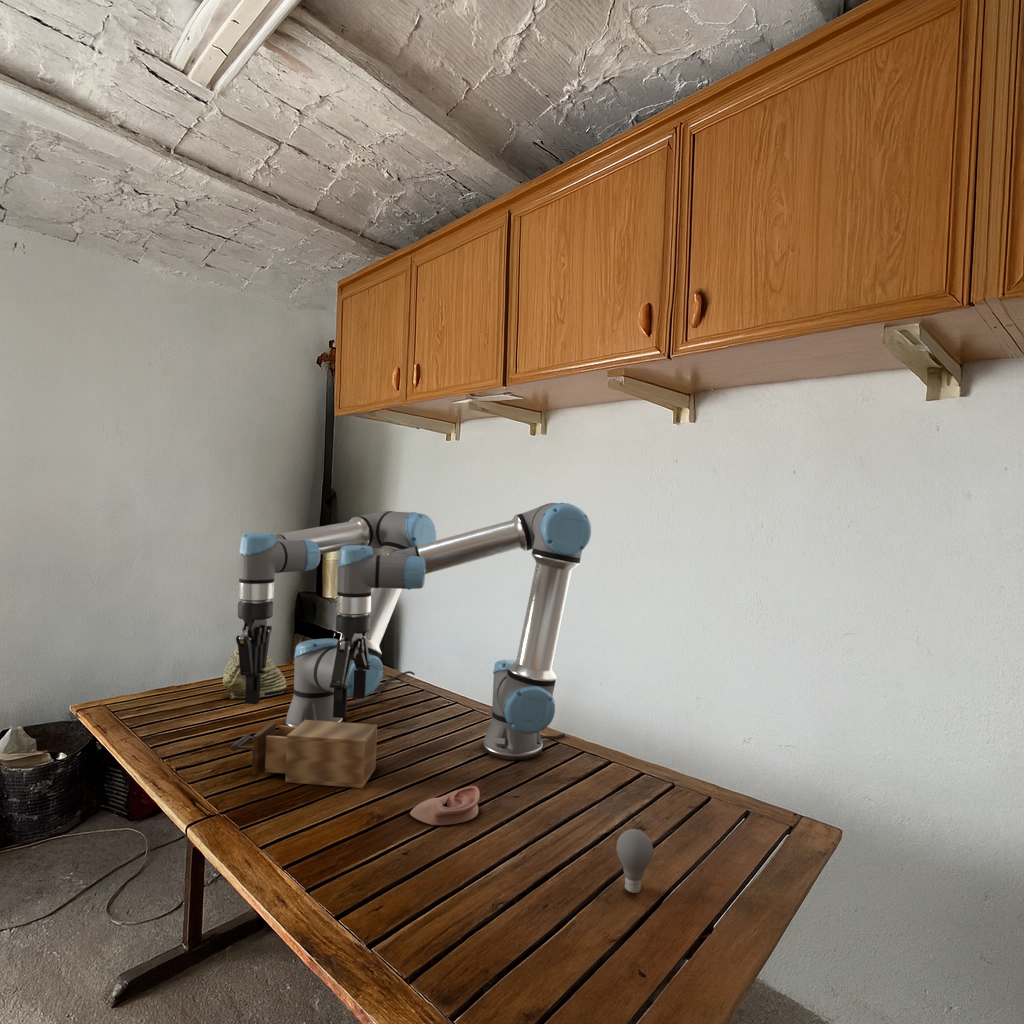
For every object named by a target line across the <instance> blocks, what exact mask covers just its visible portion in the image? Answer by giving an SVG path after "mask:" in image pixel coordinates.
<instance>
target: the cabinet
mask: <svg viewBox="0 0 1024 1024" xmlns="http://www.w3.org/2000/svg"><path fill="white" fill-rule="evenodd" d="M377 741H378V724H371V723H359V722H344V721H343V722H331V721H316V720H304V721H303V722H302V723H301V724H300V725H299V726H297V727H296V728H295V729H294V730H293V731H292V732H291V733H289V734H288V735H287V755H286V774H285V783H290V784H291V783H293V784H303V785H317V786H327V787H329V786H331V787H342V788H344V787H345V788H353V789H354V788H357V789H363V788H364V787H365V785H366V783H368V781H369V779H370V778H371V776H372V775H373V774H374V772H375V771H376V769H377V768H376V767H377V745H378V744H377V743H378V742H377Z"/></svg>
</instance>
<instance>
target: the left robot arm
mask: <svg viewBox="0 0 1024 1024" xmlns="http://www.w3.org/2000/svg"><path fill="white" fill-rule="evenodd" d="M433 541H437V530H436V527H435V522H434V521H433V520H432V518H431V517H430V516H428V515H427V514H425V513H420V512H416V511H412V512H411V511H410V512H408V511H393V510H384V511H377V512H374V513H368V514H363V515H359V516H353V517H351V518H350V520H348V521H344V522H339V523H334V524H327V525H323V526H316V527H310V528H305V529H299V530H294V531H287V532H281V533H277V534H274V533H272V532H271V533H270V532H245V533H244V534H242V536H241V537H240V542H239V551H238V555H239V563H238V564H239V565H238V567H239V568H238V585H237V589H238V600H239V601H238V603H237V618H238V619H240V620H242V621H243V624H242V626H241V631H242V633H241V635H236V636H235V642H236V644H237V648H238V652H239V663H240V674H241V675H242V676H246V688H245V698H244V704H246V705H258V704H259V703H260V699H261V697H260V673H263V674H264V673H265V670H262V668H265V667H266V660H267V655H268V652H269V646H270V638H271V633H272V631H273V626H272V625H268V619H271V618H272V617H273V616H274V602H273V601H272V600H273V599H274V598H275V574H281V573H293V572H296V573H297V572H303V573H304V572H306V571H313V570H315V569H316V568H317V567H318V566H319V564H320V561H321V555H324V554H329V553H334V552H339V551H340V549H341V548H342V547H343V546H347V545H362V546H370V547H372V548H373V549H379V550H380V551H381V554H382V556H388V555H389V554H390V553H392V552H393V551H395V550H399V549H403V550H404V549H407V548H411V547H416V546H418V545H422V544H426V543H429V542H433ZM402 591H403V589H396V588H372V589H371V612H370V613H368V614H369V615H370V630H369V631H368V632H367V645H368V653H369V661H370V663H369V665H370V670H366V690H365V698H366V697H368V696H369V695H371V694H373V693H374V692H375V691H376V690H377V688H378V687H379V685H380V684H381V681H382V679H383V675H384V669H383V668H384V665H383V662H382V660H381V658H382V654H383V653H382V651H381V648H380V645H381V642H382V640H383V638H384V635H385V633H386V630H387V628H388V625H389V622H390V621H391V619H392V618H391V617H392V615H393V612H394V611H395V608H396V605H397V603H398V600H399V598H400V596H401V593H402ZM342 640H343V637H342V638H341V639H340V640H339V639H337V638H331V637H329V638H317V639H316V638H315V639H308V640H304V641H300V642H299V643H298V644H297V645H296V646H295V650H294V651H295V652H294V655H293V658H294V670H293V671H294V672H293V695H292V696H293V697H292V699H291V702H290V704H289V708H288V710H287V712H286V714H285V726H299V725H300V724H301V723H302V722H303V721H304V720H316V721H331V722H344V718H335V717H333V702H334V688H330V683H331V678H332V673H333V667H334V662H335V657H336V651H337V642H338V641H342ZM354 670H358V669H356V667H355V664H354V660H353V661H352V664H351V668H350V672H349V676H348V679H347V683H346V687H347V699H354V700H360V699H362V698H353V687H354ZM401 674H402V675H401ZM406 674H411V675H413V676H415V675H416V674H415V672H414V671H411V670H407V671H404V672H402V673H399V674H398V675H395V676H392V677H390V678H388V679H386V680H385V681H384V682H383V683H382V684H381V687H380V688H379V690H378V691H377V693H376V694H374V695H373V696H371V697H369V698H366V699H363V700H361V701H357V702H353V703H347V708H349V707H354V706H358V705H362V704H364V703H368V702H370V701H372V700H374V699H376V698H377V697H379V695H380V694H381V692H382V690H383V689H384V687H385V685H386V684H388V683H389V682H390V681H393V680H395V679H398V678H400V677H402V676H404V675H406ZM338 682H340V681H338Z"/></svg>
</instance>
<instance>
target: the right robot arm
mask: <svg viewBox="0 0 1024 1024" xmlns="http://www.w3.org/2000/svg"><path fill="white" fill-rule="evenodd" d="M591 537H592V523H591V521H590V519H589V517H588V515H587V514H586V512H584V510H583V509H581V508H580V507H578V506H576V505H574V504H572V503H568V502H567V503H566V502H549V503H545V504H543V505H539V506H537V507H535V508H533V509H530V510H528V511H525V512H521V513H518V514H514V516H513V517H512V519H511V520H507V521H504V522H499V523H496V524H492V525H489V526H485V527H481V528H477V529H473V530H469V531H466V532H463V533H459V534H455V535H451V536H448V537H445V538H440V539H436V541H433V542H429V543H426V544H422V545H418V546H416V547H411V548H407V549H404V550H403V549H399V550H395V551H393V552H392V553H390V554H389V555H388V556H383V555H380V554H379V555H378V554H374V548H372V547H370V546H362V545H347V546H343V547H342V548H341V549H340V550H339V551H338V563H337V583H336V586H337V589H336V591H337V592H336V596H337V597H336V598H335V599H334V602H335V603H336V612H337V615H336V616H335V630H336V632H338V633H339V634H342V638H343V640H342V641H341V640H339V641H338V642H337V651H336V657H335V662H334V667H333V673H332V678H331V683H330V688H334V702H333V717H335V718H343V719H346V718H347V709H348V707H347V705H348V698H347V687H346V683H347V679H348V676H349V672H350V668H351V664H352V661H353V660H354V664H355V667H356V669H358V670H354V687H353V698H352V699H354V698H361V699H363V700H365V698H366V697H365V690H366V670H370V665H369V663H370V661H369V653H368V645H367V632H368V631H369V630H370V615H369V614H368V613H370V612H371V589H372V588H396V589H402V590H408V591H409V590H418V589H419V590H420V589H423V588H424V587H425V583H426V575H428V574H432V573H435V572H439V571H443V570H446V569H451V568H455V567H457V566H461V565H465V564H469V563H472V562H476V561H479V560H483V559H487V558H490V557H494V556H497V555H501V554H505V553H510V552H513V551H516V550H521V551H524V552H527V551H531V556H532V558H533V559H534V561H535V568H534V572H533V577H532V582H531V586H530V591H529V597H528V602H527V606H526V611H525V617H524V621H523V626H522V631H521V637H520V640H519V646H518V649H517V650H518V651H517V656H516V658H509V659H500V660H497V661H495V663H494V666H493V671H492V674H493V681H492V682H493V683H492V684H493V686H492V704H491V705H492V707H491V719H490V721H489V724H488V728H487V730H486V733H485V736H484V739H483V750H484V752H485V753H486V754H487V755H489V756H491V757H493V758H496V759H500V760H505V761H527V760H531V759H534V758H537V757H538V756H540V755H541V754H542V753H543V747H544V745H543V739H546V740H549V739H550V740H556V739H561V738H564V737H566V734H565V733H561V734H558V735H557V734H556V735H541V732H543V730H546V728H547V727H549V726H550V724H551V723H552V721H553V720H554V717H555V714H556V703H555V699H554V691H555V687H556V681H557V675H556V674H555V672H554V671H553V664H554V659H555V654H556V650H557V649H556V648H557V644H558V640H559V634H560V629H561V624H562V619H563V614H564V609H565V604H566V600H567V595H568V590H569V585H570V580H571V576H572V571H573V570H574V569H575V568H576V567H578V566H580V563H581V558H582V553H583V550H585V548H586V547H587V546H588V544H589V543H590V540H591ZM338 681H340V682H338Z"/></svg>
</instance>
